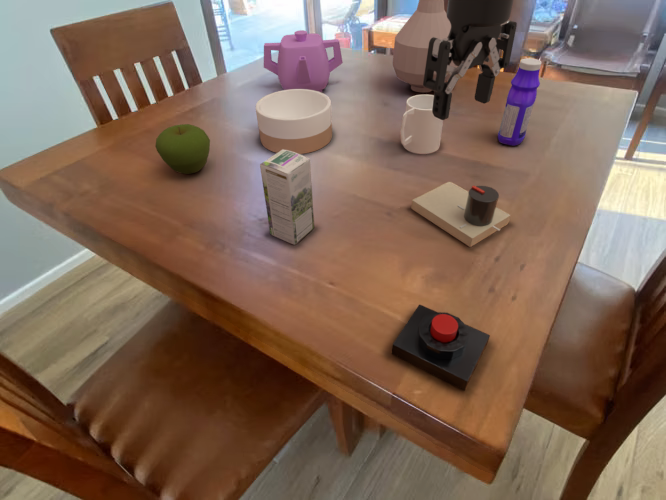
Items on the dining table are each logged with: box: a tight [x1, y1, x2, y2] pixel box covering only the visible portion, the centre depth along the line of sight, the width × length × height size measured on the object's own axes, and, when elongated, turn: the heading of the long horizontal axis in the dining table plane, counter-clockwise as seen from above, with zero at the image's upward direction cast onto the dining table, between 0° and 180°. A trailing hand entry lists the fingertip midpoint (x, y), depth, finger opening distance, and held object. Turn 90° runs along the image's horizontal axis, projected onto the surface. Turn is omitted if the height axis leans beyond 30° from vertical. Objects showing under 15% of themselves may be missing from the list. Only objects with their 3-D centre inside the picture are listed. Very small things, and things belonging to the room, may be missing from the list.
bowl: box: [255, 89, 333, 155], centre depth 101 cm, size 17×17×8 cm
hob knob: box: [464, 185, 500, 226], centre depth 73 cm, size 5×5×5 cm
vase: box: [392, 0, 458, 93], centre depth 113 cm, size 18×18×30 cm
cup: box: [399, 93, 444, 155], centre depth 94 cm, size 8×12×10 cm
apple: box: [154, 123, 211, 175], centre depth 90 cm, size 11×10×10 cm
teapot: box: [263, 29, 344, 93], centre depth 122 cm, size 19×18×15 cm
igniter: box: [391, 304, 491, 391], centre depth 56 cm, size 10×8×4 cm
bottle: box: [497, 57, 543, 146], centre depth 93 cm, size 7×6×17 cm
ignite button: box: [430, 314, 458, 343], centre depth 54 cm, size 3×3×2 cm
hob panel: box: [411, 181, 512, 248], centre depth 77 cm, size 16×10×2 cm, turn 36°
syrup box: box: [259, 149, 315, 246], centre depth 72 cm, size 6×6×14 cm
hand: (461, 109), depth 61 cm, fingers open, 8 cm apart
